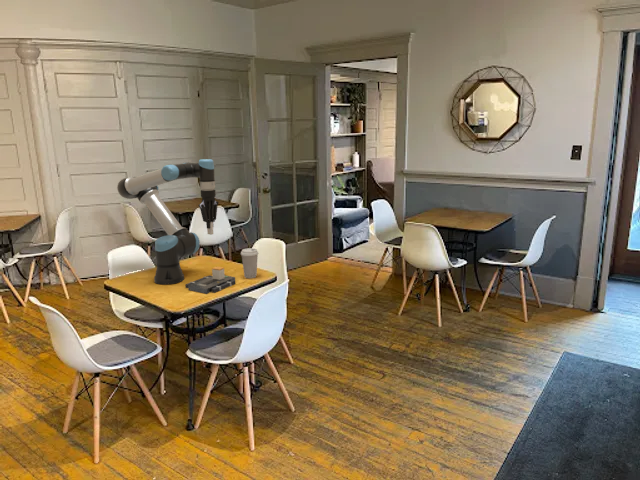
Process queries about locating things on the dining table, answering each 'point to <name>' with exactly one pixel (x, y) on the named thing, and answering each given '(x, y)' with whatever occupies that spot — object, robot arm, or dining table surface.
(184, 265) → the dining table surface
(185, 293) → the dining table surface
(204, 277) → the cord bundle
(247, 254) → the coffee cup
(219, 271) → the lever
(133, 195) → the robot arm
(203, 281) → the panel
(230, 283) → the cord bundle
